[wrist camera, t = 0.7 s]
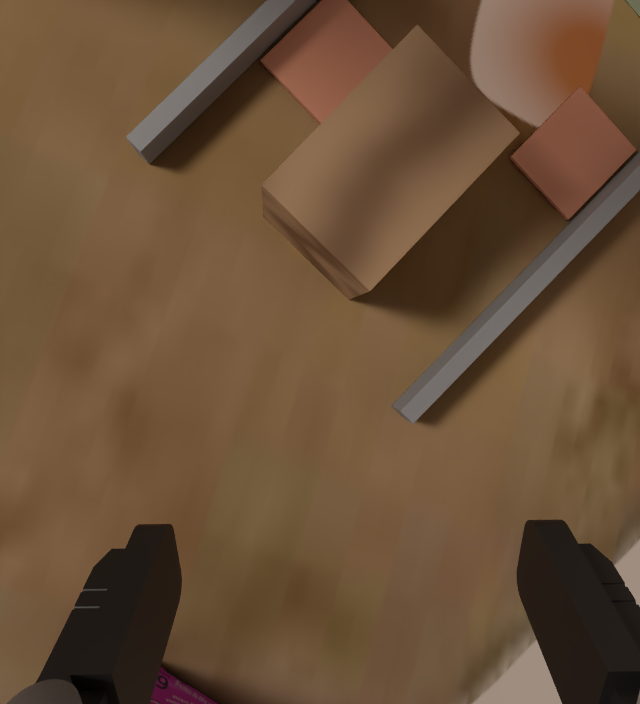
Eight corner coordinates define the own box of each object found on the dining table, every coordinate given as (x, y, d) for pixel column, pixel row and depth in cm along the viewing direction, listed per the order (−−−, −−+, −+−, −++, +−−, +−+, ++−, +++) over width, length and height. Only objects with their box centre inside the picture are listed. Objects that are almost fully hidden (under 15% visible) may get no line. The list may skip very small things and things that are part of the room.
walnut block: (263, 216, 36) (261, 184, 28) (385, 90, 37) (417, 24, 29) (348, 299, 37) (369, 291, 29) (466, 175, 38) (520, 132, 30)
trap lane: (135, 150, 35) (113, 121, 30) (485, -190, 37) (518, -272, 32) (403, 417, 38) (423, 430, 33) (723, 88, 39) (789, 53, 34)
